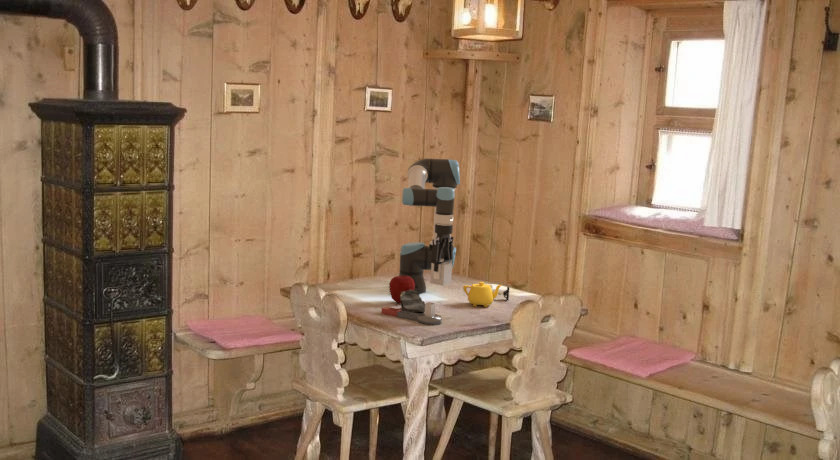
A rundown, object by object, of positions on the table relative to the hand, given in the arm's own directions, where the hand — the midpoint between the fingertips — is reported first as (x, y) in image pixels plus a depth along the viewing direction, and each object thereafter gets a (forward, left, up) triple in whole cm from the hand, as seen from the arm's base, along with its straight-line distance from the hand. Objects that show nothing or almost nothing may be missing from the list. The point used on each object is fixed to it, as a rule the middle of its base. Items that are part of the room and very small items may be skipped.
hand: (441, 277), depth 360 cm
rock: (-13, 0, -17) cm, 22 cm away
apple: (-26, +10, -17) cm, 33 cm away
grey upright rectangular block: (0, 0, -2) cm, 2 cm away
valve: (+2, +49, -17) cm, 52 cm away
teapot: (+3, +33, -17) cm, 37 cm away
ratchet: (-7, -11, -17) cm, 22 cm away
